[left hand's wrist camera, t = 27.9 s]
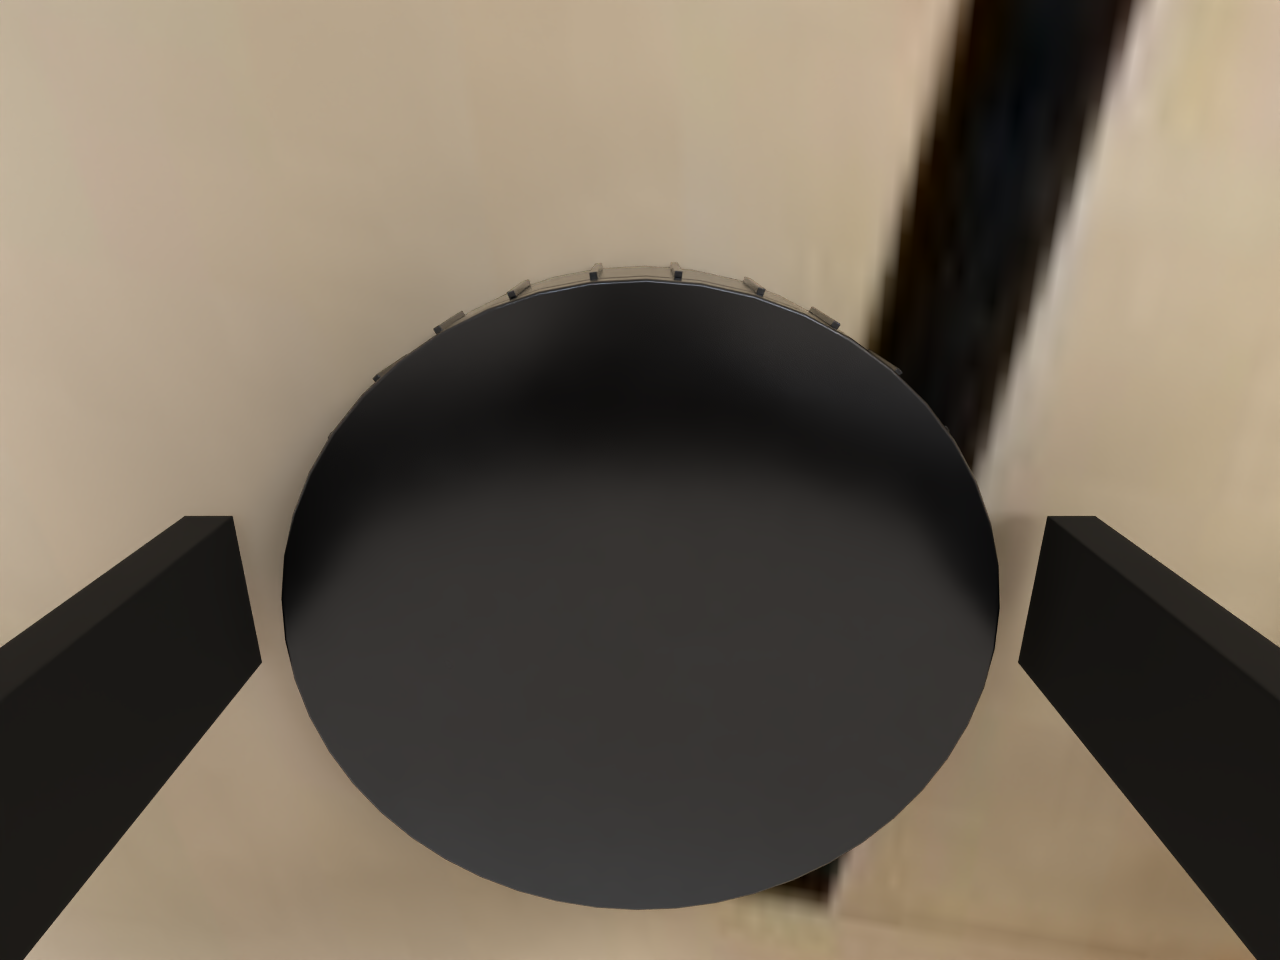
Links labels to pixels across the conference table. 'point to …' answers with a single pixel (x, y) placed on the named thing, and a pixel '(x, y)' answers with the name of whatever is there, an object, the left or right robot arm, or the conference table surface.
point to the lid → (640, 590)
